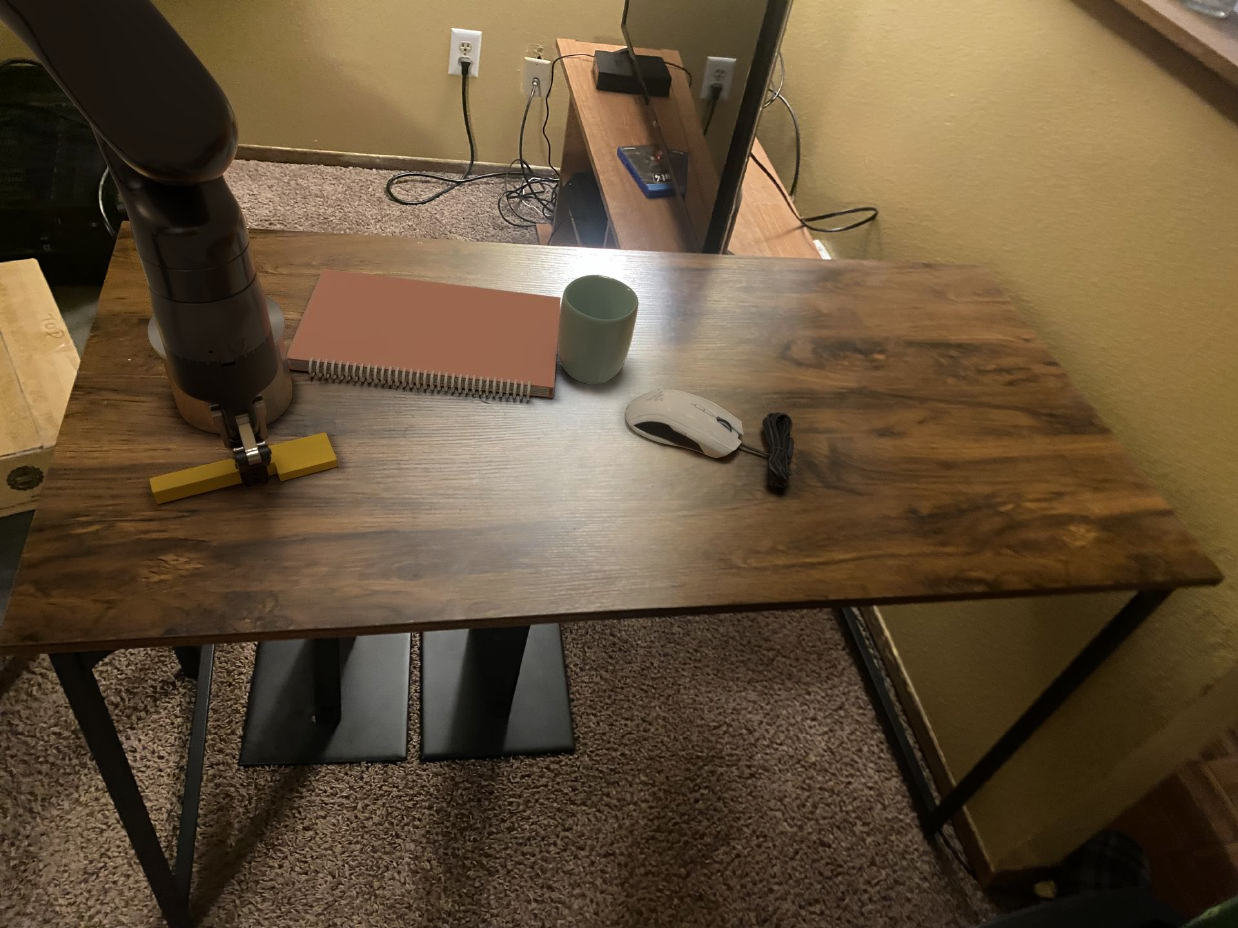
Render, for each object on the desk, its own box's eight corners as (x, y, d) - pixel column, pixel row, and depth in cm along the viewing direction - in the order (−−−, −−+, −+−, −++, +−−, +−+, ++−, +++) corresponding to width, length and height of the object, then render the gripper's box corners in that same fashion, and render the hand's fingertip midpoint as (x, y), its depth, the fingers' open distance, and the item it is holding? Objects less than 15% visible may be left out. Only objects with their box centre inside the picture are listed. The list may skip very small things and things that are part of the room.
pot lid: (162, 387, 71) (148, 344, 67) (140, 308, 77) (126, 265, 74) (301, 359, 76) (294, 317, 72) (269, 286, 82) (262, 245, 78)
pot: (189, 446, 77) (166, 377, 71) (168, 374, 83) (146, 305, 76) (304, 418, 81) (293, 351, 75) (277, 353, 87) (264, 285, 81)
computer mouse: (635, 385, 92) (641, 358, 89) (795, 433, 91) (807, 406, 88) (611, 446, 85) (617, 418, 82) (784, 498, 84) (796, 471, 81)
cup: (637, 369, 94) (652, 296, 87) (599, 405, 89) (612, 331, 82) (580, 338, 96) (591, 265, 89) (540, 372, 91) (548, 297, 84)
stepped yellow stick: (159, 513, 72) (154, 501, 70) (151, 482, 74) (147, 469, 72) (338, 466, 78) (336, 454, 77) (326, 439, 80) (324, 427, 79)
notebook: (284, 377, 85) (282, 362, 83) (324, 281, 96) (322, 266, 95) (551, 406, 88) (553, 392, 86) (559, 309, 99) (560, 295, 98)
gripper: (144, 282, 64) (195, 440, 76) (176, 394, 56) (226, 548, 69) (248, 266, 67) (280, 421, 79) (291, 370, 59) (319, 522, 72)
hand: (255, 480), depth 74 cm, fingers closed
